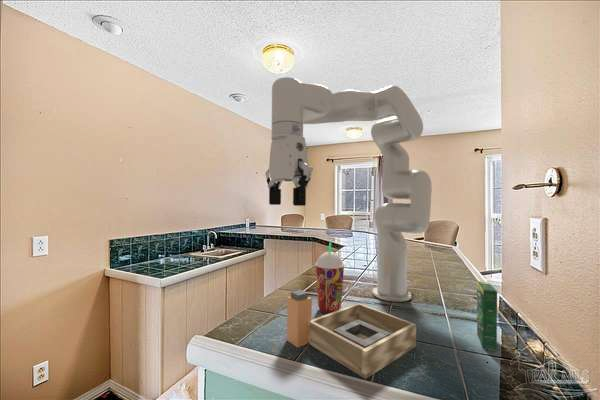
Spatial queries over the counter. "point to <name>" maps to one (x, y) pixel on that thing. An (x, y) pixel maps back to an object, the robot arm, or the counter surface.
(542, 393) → the counter surface
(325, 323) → the walled tray
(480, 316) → the coffee box
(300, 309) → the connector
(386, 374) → the counter surface
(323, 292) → the smoothie
